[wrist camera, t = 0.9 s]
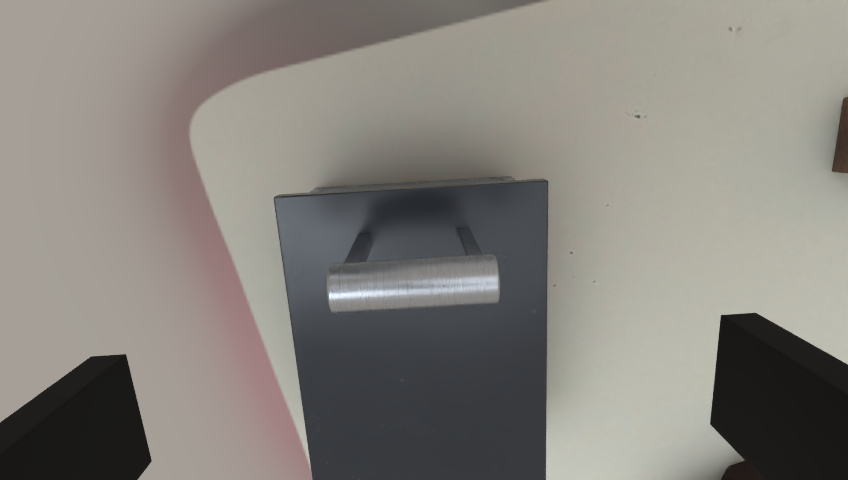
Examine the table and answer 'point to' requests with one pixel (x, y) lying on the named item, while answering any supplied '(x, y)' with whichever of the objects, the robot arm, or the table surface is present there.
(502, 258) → the box lid
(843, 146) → the block
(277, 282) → the table surface
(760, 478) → the mug
